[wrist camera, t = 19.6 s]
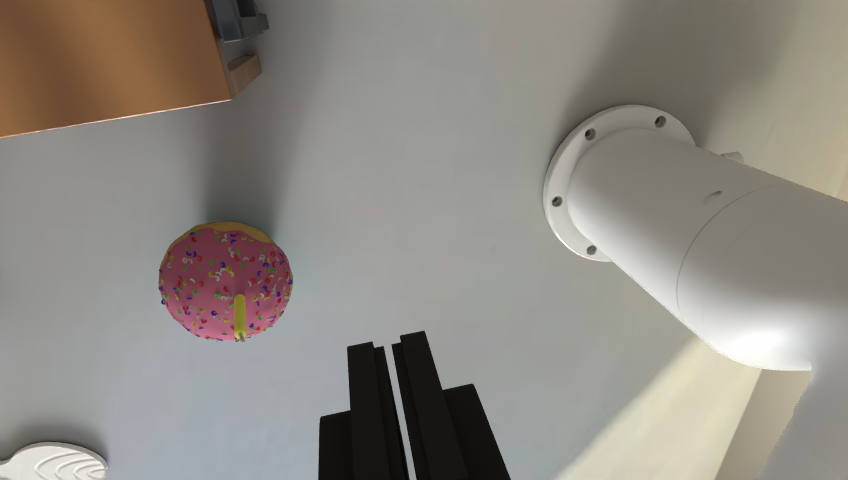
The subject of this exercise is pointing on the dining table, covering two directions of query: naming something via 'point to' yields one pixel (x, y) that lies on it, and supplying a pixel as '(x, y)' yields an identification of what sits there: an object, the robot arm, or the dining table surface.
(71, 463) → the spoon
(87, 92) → the oak table
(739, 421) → the dining table surface
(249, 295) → the cupcake
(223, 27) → the charcoal chair
